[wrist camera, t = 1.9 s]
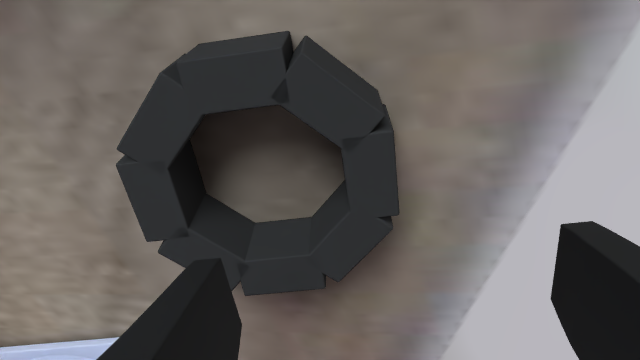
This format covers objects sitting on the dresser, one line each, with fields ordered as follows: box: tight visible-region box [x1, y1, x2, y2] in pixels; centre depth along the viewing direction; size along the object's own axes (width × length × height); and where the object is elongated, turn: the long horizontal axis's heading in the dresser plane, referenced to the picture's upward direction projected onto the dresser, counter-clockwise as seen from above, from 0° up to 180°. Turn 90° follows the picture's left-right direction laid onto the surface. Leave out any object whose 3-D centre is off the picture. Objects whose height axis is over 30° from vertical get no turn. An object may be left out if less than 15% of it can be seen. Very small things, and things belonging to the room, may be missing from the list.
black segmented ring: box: [116, 31, 399, 296], centre depth 15 cm, size 9×9×2 cm
